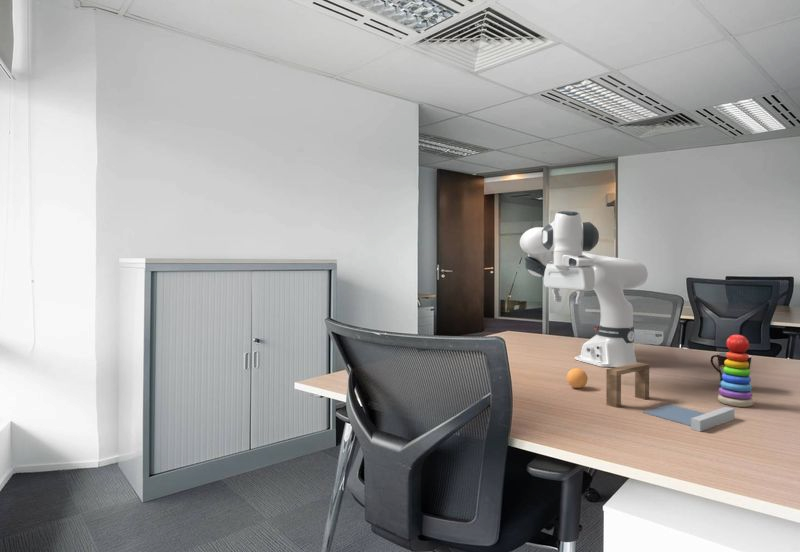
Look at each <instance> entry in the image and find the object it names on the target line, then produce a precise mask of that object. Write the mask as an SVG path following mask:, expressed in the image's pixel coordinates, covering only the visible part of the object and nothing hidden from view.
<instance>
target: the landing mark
mask: <svg viewBox="0 0 800 552" xmlns="http://www.w3.org/2000/svg"><path fill="white" fill-rule="evenodd" d="M642 413H643V414H646V415H648V416H649V415H650V416H653V417H656V418H660V419H663V420H667V421H671V422H674V423H679V424H683V425H686V426H689V427H691V418H694V417H697V416H700V415H703V414H706V412H701V411H697V410H695V409H690V408H687V407H686V408H685V407H683V406H682V407H681V406H677V405H673V404H670V403H669V404H666V405H662V406H659V407H655V408H652V409H648V410H644V411H642Z"/></svg>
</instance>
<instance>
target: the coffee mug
mask: <svg viewBox="0 0 800 552" xmlns="http://www.w3.org/2000/svg"><path fill="white" fill-rule="evenodd" d="M726 353H727V352H725V351H724V352H723V351H722V352H717V353H716V355H715V354H713V355H712V356H710V364H711V366H712V367H713V368H714V369H715V370H716V372H718V373H719V380H720V382H721V381H722V380H723V379H722V375H723V374H724V373H725V372H724V371H723V369H724V367H725V366H726V365H725V364H724V361H725V360H726V359H728V358H727V357H726ZM747 355H748V356H749V358H748V360H747V362H748V363H749V367H748V369H749V370H750V368H751V362H752V355H749V354H747ZM714 358H717V364H718V365H717V366H718V368H717V367H716V365H715V363H714ZM750 371H751V370H750Z"/></svg>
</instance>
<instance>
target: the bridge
mask: <svg viewBox="0 0 800 552" xmlns="http://www.w3.org/2000/svg"><path fill="white" fill-rule="evenodd" d="M605 373H606V383H605V384H606V390H605V391H606V394H605V395H606V397H605V398H606V405H608V406H610V407H614V408H618V407H619V408H620V407H622V375H626V374H630V373H634V397H635V398H638V399H641V400H648V399H650V364H649V363H645V362H637V363H634V364H629V365H624V366H620V367H609V368H606V372H605Z"/></svg>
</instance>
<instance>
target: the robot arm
mask: <svg viewBox="0 0 800 552" xmlns="http://www.w3.org/2000/svg"><path fill="white" fill-rule="evenodd" d="M599 239H600V233H599V230H598V228H597V227H596V226H595V225H594V224H593V223H591V221H586V222H582V217H581V214H580V213H579V212H577V211H570V210H562V211H558V212H556V213H555V216H554V220H553V221H552V222H551V223H548V224H546V225H545V226H544V227H542V226H541V227H540V226H537V227H536V226H535V227H532V228H529V229H527V230H526V231H525V232H523V234H522V235H521V237H520V238H519V246H520V248H521V250H522V251H523V252H524V253H526V254H527V255H526V256H527V257H524V261H525V265H524V266H525V269H526V270H527V271H528V272H529V274H531V275H532V276H535V277H539V278H540V277H541V278H543V285H544V287H545V288H549V289H550V288H551V292H552V295H553V298H554V302H555V303H560V302H562V296H561V295H560V290H561V289H563V290H576V291H575V292H576V294H577V295H576V296H575V297H576V298H573V300H574V301H573V304H574V305H582V303H583V302H582V301H583V297H584V296H585V292H586V291H594V292H595V294H596V296H597V299H598V303H599V307H600V308H599V311H600V325H598V326H595V327H594V329H593V330H594V331H596V334H595V335H594V336H592V337H591V338H590V339H588V340H587V341H586V342H584V343H583V344H582V346H581V350H580V354H578V355H576V356H574V360H575V361H576V360H577V361H580V362H583V363H586V364H590V365H594V366H598V367H601V368H602V367H603V368H604V367H605V368H608V367H609V368H615V367H620V366H624V365H629V364H634V363H638V361H637V358H636V357H637V356H636V352H635V346H634V340H635V327H634V307H633V305H632V303H631V302H630V301H628V299H627V298H626V296H625V294H624V290H630V289H634V288H637V287H641V286H643V285H644V284H645V283H646V282H647V279H648V269H647V266H645V264H643V263H642V262H640V261H636V260H632V259H626V258H619V257H613V256H607V255H599V254H594V253H588V252H590V251H592V250H593V249H594V248H595V247H596V246H597V245H598V242H599Z"/></svg>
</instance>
